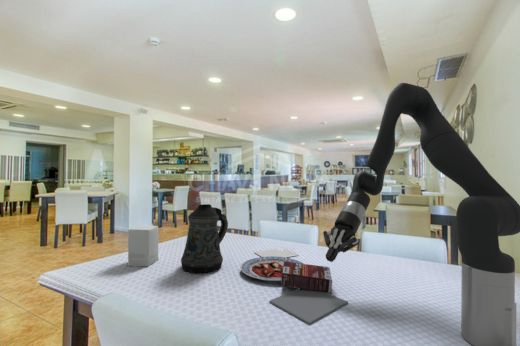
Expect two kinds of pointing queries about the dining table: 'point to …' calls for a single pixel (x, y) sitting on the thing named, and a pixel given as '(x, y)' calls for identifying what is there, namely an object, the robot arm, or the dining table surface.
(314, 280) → the supplement box
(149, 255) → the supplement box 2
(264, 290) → the dining table surface
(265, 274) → the ceramic plate
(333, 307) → the charcoal mat
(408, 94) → the robot arm
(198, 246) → the beer stein
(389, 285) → the dining table surface
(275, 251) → the paper stack
